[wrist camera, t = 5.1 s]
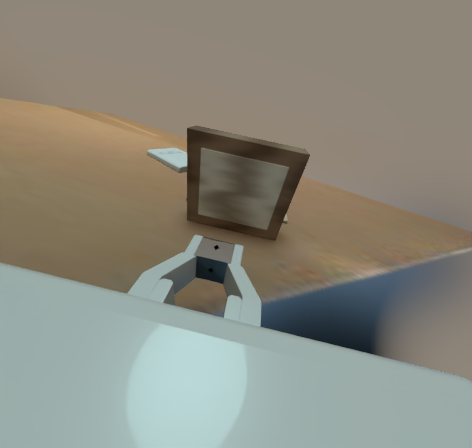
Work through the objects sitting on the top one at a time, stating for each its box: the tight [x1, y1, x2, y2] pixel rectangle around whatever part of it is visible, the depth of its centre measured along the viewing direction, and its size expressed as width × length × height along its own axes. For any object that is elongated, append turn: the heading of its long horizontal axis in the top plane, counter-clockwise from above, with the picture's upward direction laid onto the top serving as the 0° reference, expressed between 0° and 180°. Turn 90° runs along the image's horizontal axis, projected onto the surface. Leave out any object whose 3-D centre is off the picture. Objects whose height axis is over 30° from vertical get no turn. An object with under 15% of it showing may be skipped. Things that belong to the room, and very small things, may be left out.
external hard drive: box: [147, 148, 187, 173], centre depth 40 cm, size 2×8×12 cm
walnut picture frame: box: [187, 126, 310, 240], centre depth 20 cm, size 12×3×11 cm, turn 81°
